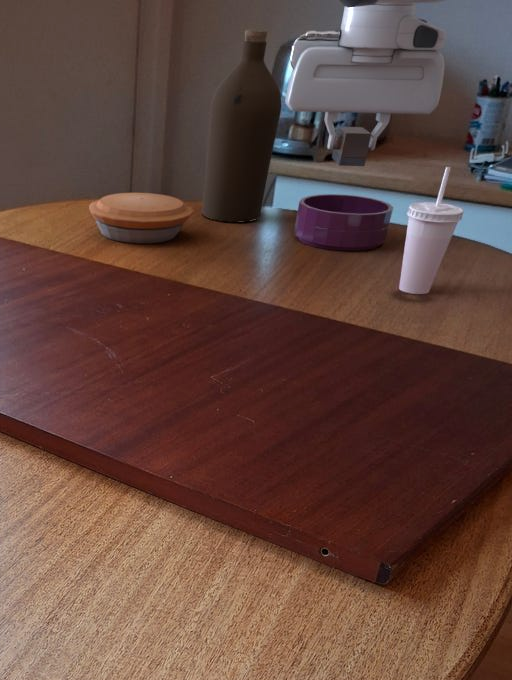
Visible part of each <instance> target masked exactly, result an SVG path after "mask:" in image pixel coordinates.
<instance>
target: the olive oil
mask: <svg viewBox="0 0 512 680" xmlns="http://www.w3.org/2000/svg"><path fill="white" fill-rule="evenodd" d="M267 36H268V30H266V29H245V32H244V40H243V41H242V47H241V57H240V61H239V62H238V63H237V64H236V65H235V67H234V68H233V69H232V70H231V71H230V72H229V73H228V74H227V75H226V76H225V77H224V79H223V80H222V81H221V82H220V83H219V85H218V86H217V88H216V89H215V91H214V93H213V96H212V99H211V103H210V107H209V118H208V119H209V120H208V133H207V134H208V135H207V146H206V161H205V162H206V163H205V173H204V183H203V195H202V205H201V215H202V214H203V215H205V216H206V217H209V218H212V219H215V220H214V221H215V222H217V221H216V220H221V221H220V222H222V223H224V222H223V221H231V222H230V223H231V224H232V223H234V224H238V223H240V224H241V223H243V222H238V221H250V220H253V219H257V218H258V217H259V216H260V217H261V213H262V208H263V207H262V206H263V201H264V196H265V192H266V191H265V190H266V185H267V180H268V175H269V171H270V166H271V165H270V164H271V161H272V156H273V151H274V147H275V146H274V145H275V141H276V136H277V131H278V127H279V123H280V119H281V112H282V95H281V90H280V87H279V85H278V83H277V82H276V80H275V79H274V77H273V75H272V73H271V72H270V70H269V69H268V67H267V64H266V63H265V54H266V48H267ZM203 215H202V216H203ZM206 217H204V219H205V218H206ZM260 217H259V218H260ZM259 218H258V219H259ZM206 219H207V218H206ZM212 219H210V220H211V221H213V220H212ZM258 219H257V220H258ZM255 221H256V220H254V221H253V222H255ZM250 222H252V221H250ZM250 222H249V223H250Z"/></svg>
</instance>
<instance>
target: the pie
mask: <svg viewBox="0 0 512 680" xmlns="http://www.w3.org/2000/svg"><path fill="white" fill-rule="evenodd" d="M88 209H89V212H90V214H91V216H92V217H93V218H94V220H95V223H96V225H97V227H98V229H99V231H100V233H101V234H102V236H104V237H105V238H107V239H110V240H112V241H116V242H119V243H128V244H139V245H140V244H141V245H142V244H146V245H147V244H161V243H165V242H169V241H171V240H173V239H175V238H176V236H177V235H178V233H179V232H180V230H181V229H182V227H183V226H184V224H185V223H186V222H187V221H188V219H189V218H190V217H191V216H192V215H193V214H194V209H193V207H192V206H189V205H187V204H184V202H183V201H182V200H180V199H179V198H177V197H174V196H171V195H167V194H166V195H165V194H160V193H153V192H120V193H113V194H108V195H105V196H102V197H101V198H99V199H98V200H95V201H92V202H91V203H90V204H89V206H88Z"/></svg>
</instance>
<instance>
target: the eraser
mask: <svg viewBox="0 0 512 680" xmlns="http://www.w3.org/2000/svg"><path fill="white" fill-rule="evenodd" d="M336 134H340V135H341V136H342V137H341V142H340V147H339V149H332V155H331V159H332V160H333V161H334V162H335V163H336V164H337V165H338V166H339V167H341V166H343V167H347V166H348V167H365V165H366V160H367V155H368V151H369V150H368V147H369V142H370V138H371V132H369V131H368V130H367V129H365V128H364V127H363V126H337V129H336Z"/></svg>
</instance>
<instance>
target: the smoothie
mask: <svg viewBox="0 0 512 680" xmlns="http://www.w3.org/2000/svg"><path fill="white" fill-rule="evenodd" d="M451 170H452V167H451V166H445V170H444V173H443V177H442V179H441V180H442V181H441V185H440V188H439V191H438V194H437V199H436V202H430V201H429V202H428V201H424V202H422V201H421V202H413V203H411V204H410V205H408V206H409V207H408V209H407V212H406V216H408V222H407V228H406V236H405V243H404V250H403V258H402V264H401V271H400V278H399V286H398V289H399V290H400V291H401V292H403V293H407V294H413V295H426V294H429V293H430V291H431V288H432V286H433V283H434V281H435V278H436V276H437V273H438V272H439V269H440V267H441V264H442V261H443V259H444V257H445V254H446V252H447V250H448V247H449V245H450V242H451V240H452V237H453V235H454V233H455V230H456V229H457V225H458V223H459V222H460V221H462V220H463V215H464V209H462V208H461V207H459V206H457V205H454V204H448V203H443V198H444V195H445V190H446V187H447V184H448V180H449V176H450V172H451Z"/></svg>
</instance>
